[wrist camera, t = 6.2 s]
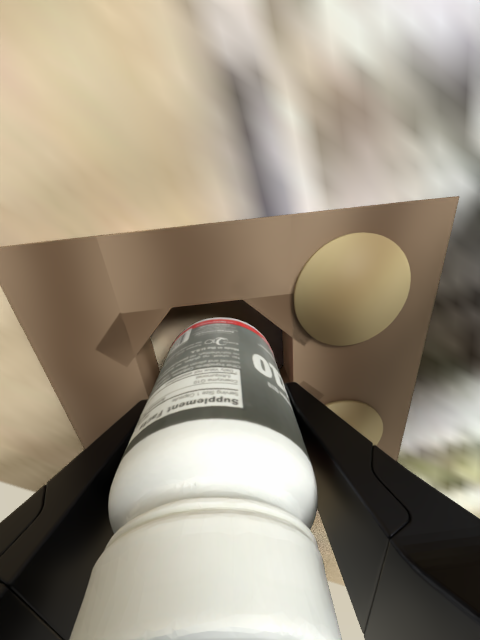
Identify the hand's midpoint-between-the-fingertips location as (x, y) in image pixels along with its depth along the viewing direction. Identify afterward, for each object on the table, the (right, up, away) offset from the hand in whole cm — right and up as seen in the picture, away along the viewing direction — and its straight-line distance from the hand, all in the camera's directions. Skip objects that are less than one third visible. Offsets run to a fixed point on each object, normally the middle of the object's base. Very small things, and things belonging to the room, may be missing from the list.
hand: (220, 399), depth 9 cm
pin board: (+1, +1, +4) cm, 4 cm away
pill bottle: (0, +1, +2) cm, 3 cm away
